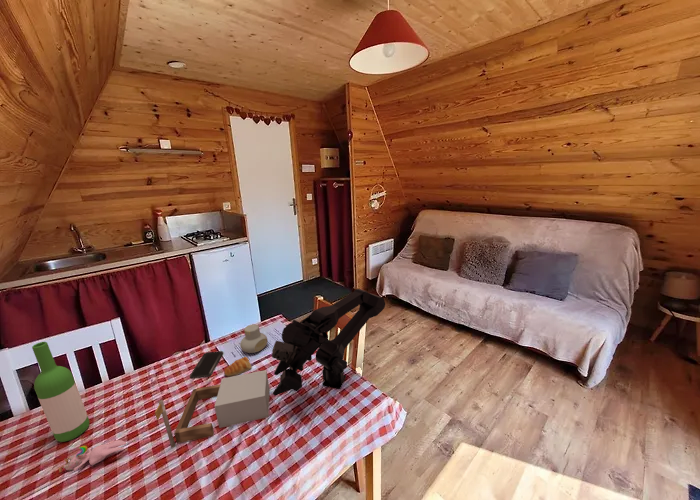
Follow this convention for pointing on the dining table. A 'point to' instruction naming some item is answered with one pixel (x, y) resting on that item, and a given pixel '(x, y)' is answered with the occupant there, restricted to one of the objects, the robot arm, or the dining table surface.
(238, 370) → the pastry
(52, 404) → the wine bottle
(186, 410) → the walnut pocket
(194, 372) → the phone
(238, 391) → the beige box
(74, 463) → the rabbit figure
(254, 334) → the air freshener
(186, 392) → the dining table surface
